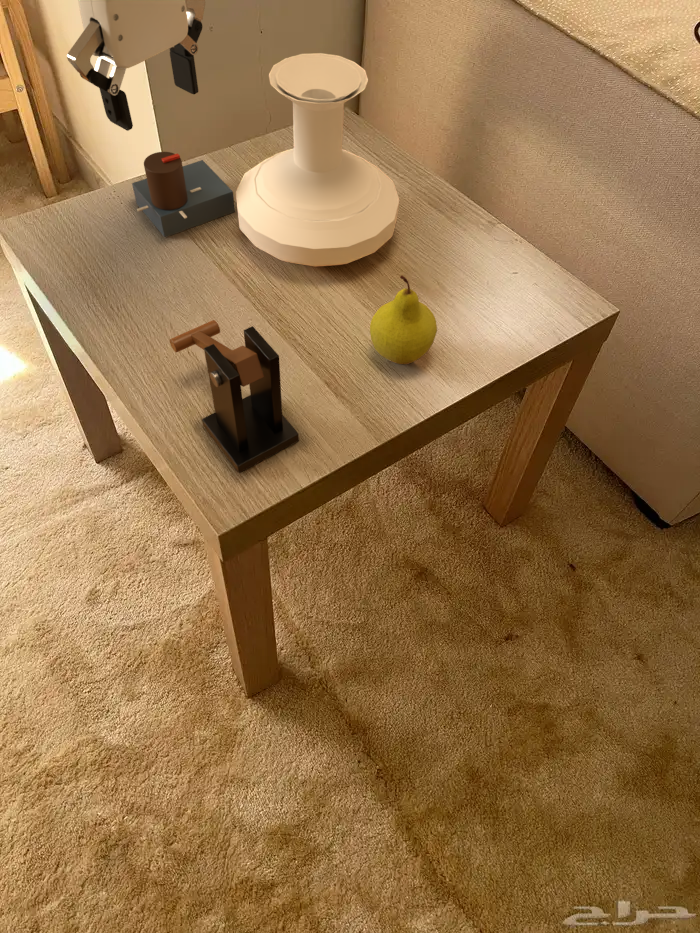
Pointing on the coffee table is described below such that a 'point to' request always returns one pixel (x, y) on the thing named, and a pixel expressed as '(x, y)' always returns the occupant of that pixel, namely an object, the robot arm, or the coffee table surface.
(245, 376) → the lever
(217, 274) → the coffee table surface
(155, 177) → the knob
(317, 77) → the white vase
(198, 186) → the panel
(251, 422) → the bracket
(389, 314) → the fruit
